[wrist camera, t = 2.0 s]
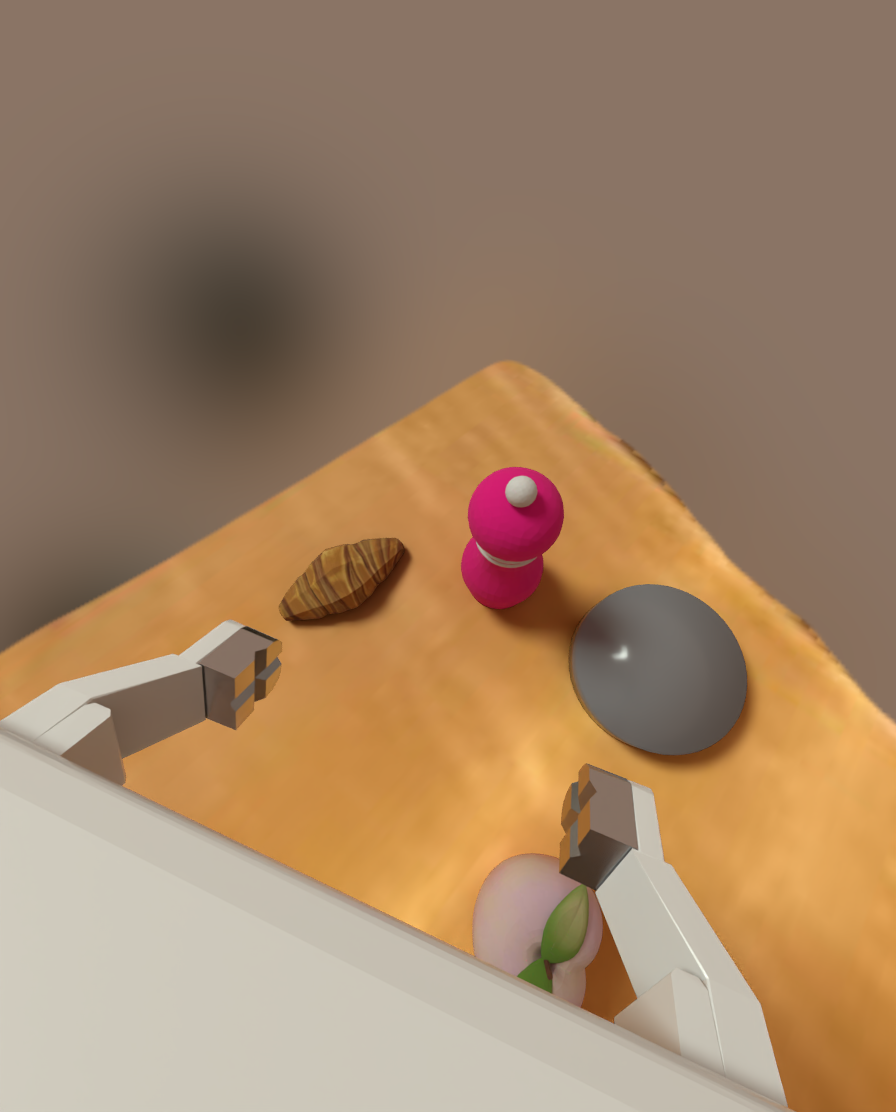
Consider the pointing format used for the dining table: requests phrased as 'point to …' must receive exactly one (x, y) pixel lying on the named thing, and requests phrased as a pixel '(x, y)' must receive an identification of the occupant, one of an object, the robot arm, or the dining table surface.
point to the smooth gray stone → (658, 670)
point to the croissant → (341, 578)
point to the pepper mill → (510, 535)
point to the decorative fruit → (538, 925)
